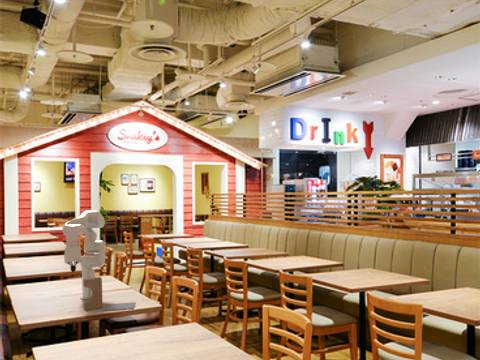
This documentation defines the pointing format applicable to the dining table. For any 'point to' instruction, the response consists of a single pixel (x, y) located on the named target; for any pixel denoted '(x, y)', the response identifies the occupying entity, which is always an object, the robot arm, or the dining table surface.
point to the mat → (118, 306)
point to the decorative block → (94, 293)
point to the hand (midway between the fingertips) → (73, 271)
